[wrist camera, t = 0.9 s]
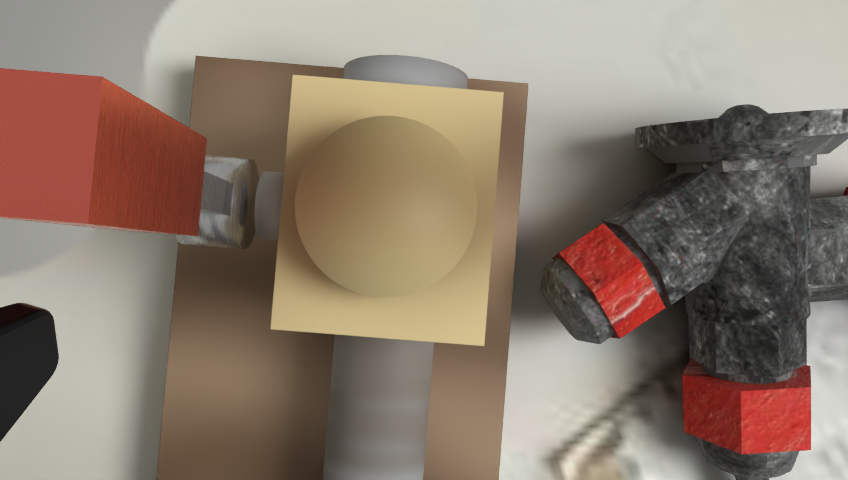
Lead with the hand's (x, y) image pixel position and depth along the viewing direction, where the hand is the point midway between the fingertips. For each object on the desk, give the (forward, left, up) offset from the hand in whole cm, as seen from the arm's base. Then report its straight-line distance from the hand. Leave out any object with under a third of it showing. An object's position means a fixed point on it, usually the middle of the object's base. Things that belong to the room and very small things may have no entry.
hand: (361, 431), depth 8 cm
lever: (+1, +6, -10) cm, 12 cm away
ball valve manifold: (0, +2, -14) cm, 14 cm away
